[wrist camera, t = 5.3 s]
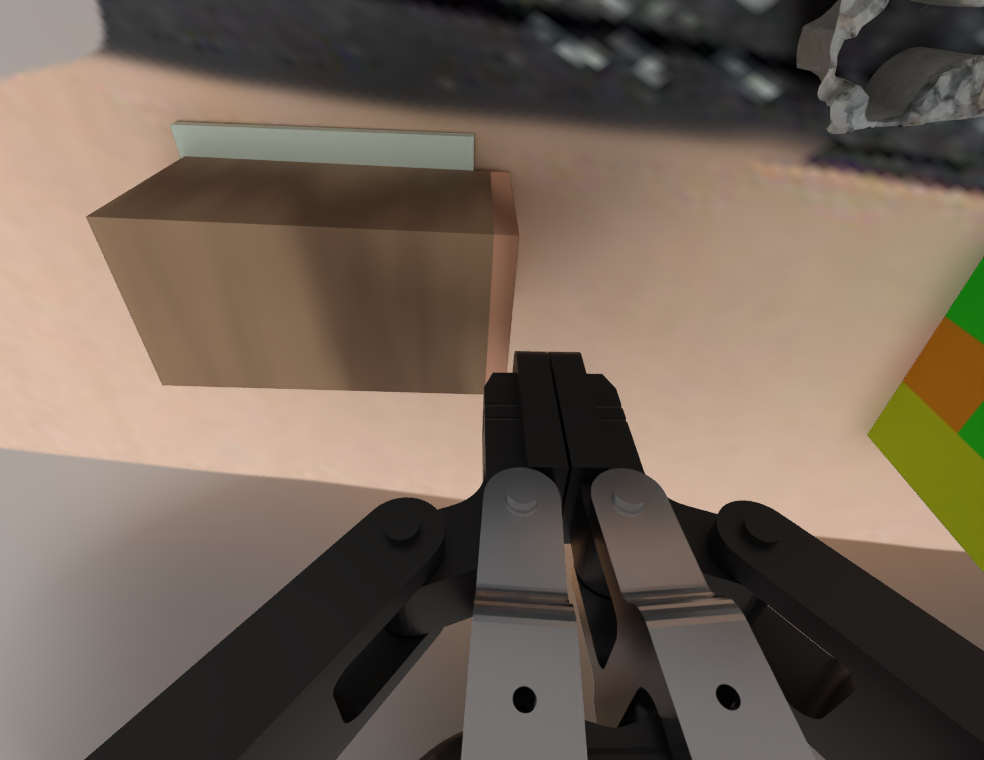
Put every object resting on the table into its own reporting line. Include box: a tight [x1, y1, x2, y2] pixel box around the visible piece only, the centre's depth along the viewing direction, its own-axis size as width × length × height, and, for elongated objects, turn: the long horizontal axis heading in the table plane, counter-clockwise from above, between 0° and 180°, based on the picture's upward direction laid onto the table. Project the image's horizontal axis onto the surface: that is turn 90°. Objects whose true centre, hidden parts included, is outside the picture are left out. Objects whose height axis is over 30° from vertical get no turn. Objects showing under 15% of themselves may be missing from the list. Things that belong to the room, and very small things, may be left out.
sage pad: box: [170, 121, 474, 171], centre depth 18 cm, size 9×7×1 cm
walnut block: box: [86, 156, 519, 394], centre depth 15 cm, size 5×5×10 cm
